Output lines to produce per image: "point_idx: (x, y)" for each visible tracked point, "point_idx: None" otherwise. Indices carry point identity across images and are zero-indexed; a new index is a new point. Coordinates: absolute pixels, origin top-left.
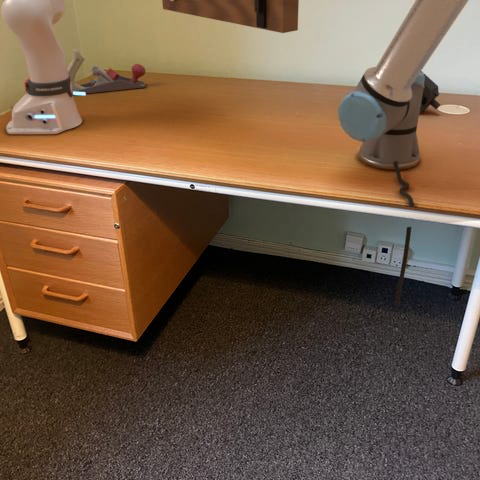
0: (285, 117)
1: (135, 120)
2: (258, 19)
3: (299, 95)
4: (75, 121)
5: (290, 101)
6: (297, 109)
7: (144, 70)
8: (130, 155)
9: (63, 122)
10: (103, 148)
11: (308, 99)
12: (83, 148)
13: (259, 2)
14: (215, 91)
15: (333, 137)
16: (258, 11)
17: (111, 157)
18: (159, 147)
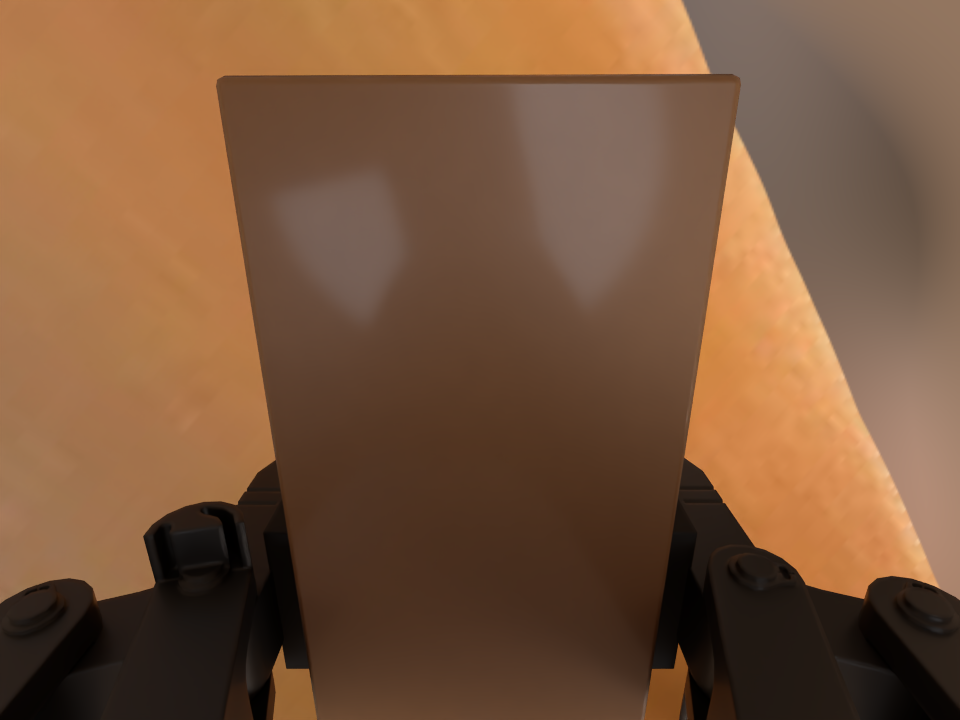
0: (245, 418)
1: None
2: None
3: (73, 541)
4: None
5: (137, 517)
6: (162, 448)
7: None
8: (805, 466)
9: None
10: (818, 547)
11: (68, 496)
12: (852, 577)
13: (722, 529)
14: (293, 709)
15: (220, 166)
16: (695, 467)
17: (848, 486)
18: (711, 464)
